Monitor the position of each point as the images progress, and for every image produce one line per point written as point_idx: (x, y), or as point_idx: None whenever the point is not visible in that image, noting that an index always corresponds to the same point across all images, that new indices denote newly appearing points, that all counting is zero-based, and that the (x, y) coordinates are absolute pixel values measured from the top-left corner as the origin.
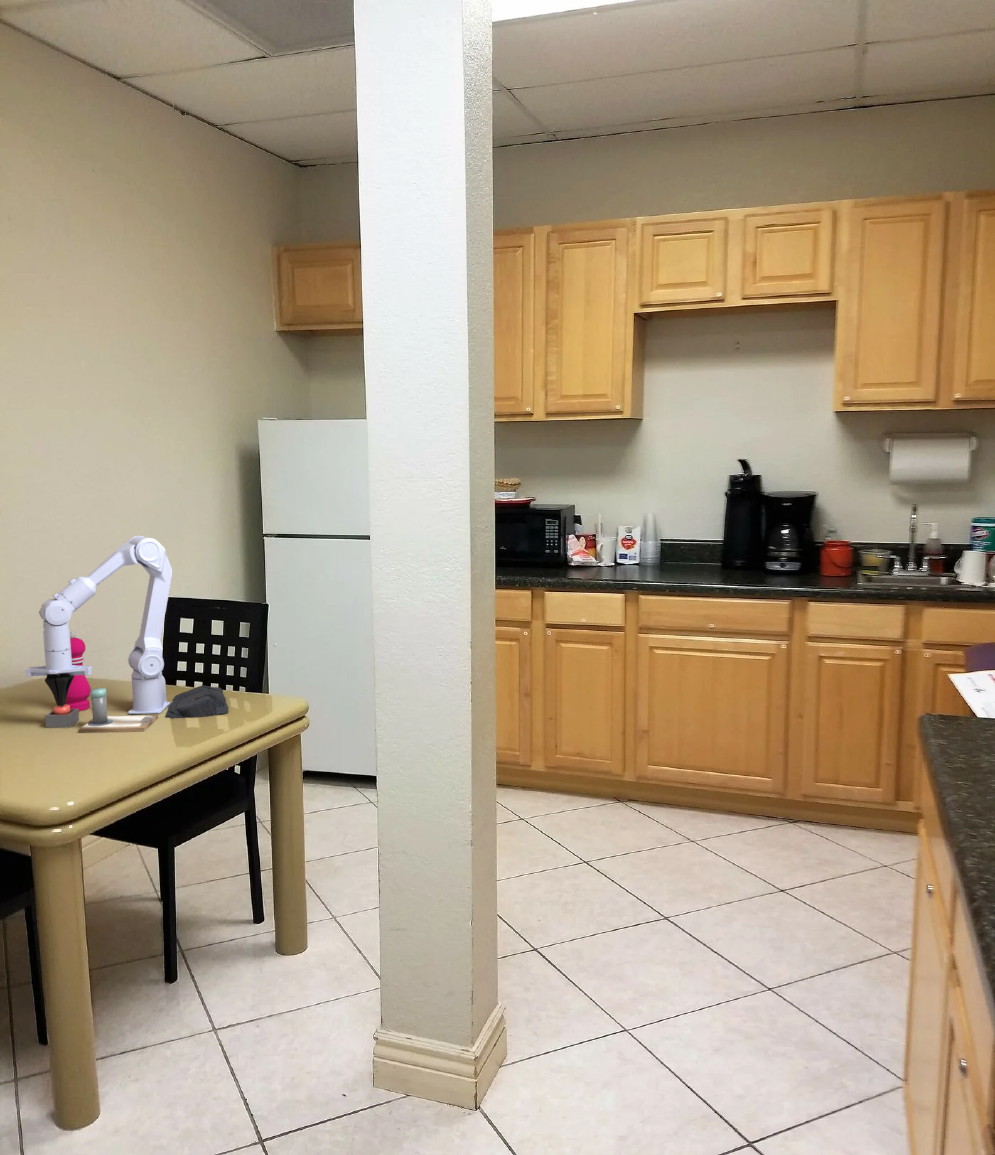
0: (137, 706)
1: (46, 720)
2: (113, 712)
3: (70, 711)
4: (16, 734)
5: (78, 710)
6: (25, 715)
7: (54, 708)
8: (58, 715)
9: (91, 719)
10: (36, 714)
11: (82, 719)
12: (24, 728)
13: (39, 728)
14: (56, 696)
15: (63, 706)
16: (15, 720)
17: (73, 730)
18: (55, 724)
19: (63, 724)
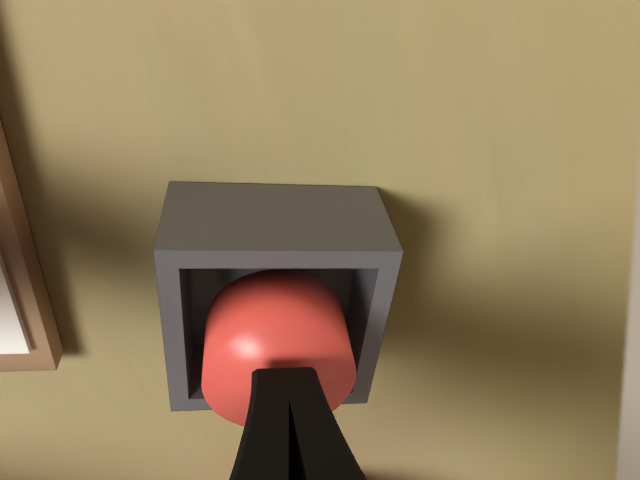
0: None
1: (382, 221)
2: (33, 462)
3: None
4: (599, 16)
5: None
6: (546, 419)
7: (334, 336)
8: (271, 250)
9: (34, 302)
10: (491, 431)
11: None
12: (539, 189)
13: (426, 177)
14: (319, 457)
15: None
16: (598, 350)
17: (82, 79)
18: (299, 199)
19: (226, 196)
